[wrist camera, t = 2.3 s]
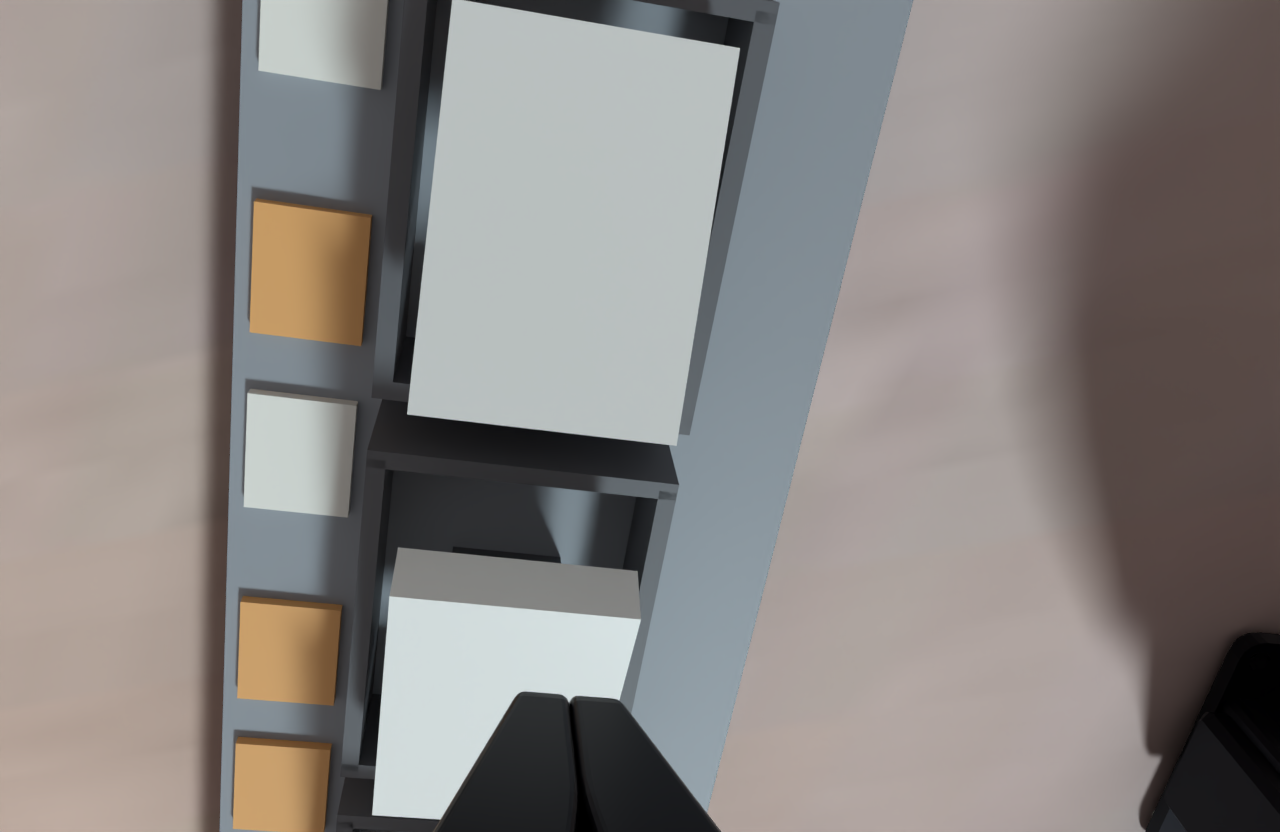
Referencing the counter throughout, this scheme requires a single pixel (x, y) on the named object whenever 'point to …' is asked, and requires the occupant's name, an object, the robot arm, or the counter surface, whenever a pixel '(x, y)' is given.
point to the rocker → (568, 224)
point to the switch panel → (494, 454)
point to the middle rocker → (486, 660)
